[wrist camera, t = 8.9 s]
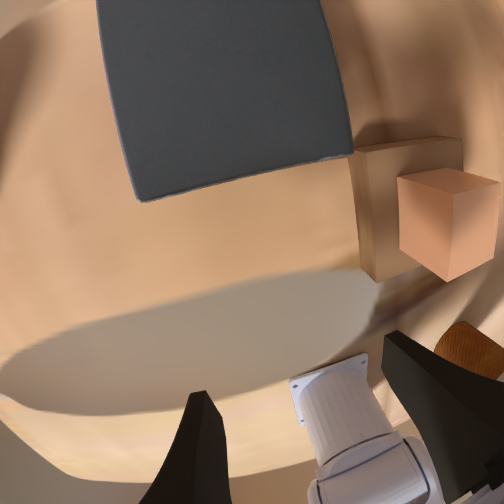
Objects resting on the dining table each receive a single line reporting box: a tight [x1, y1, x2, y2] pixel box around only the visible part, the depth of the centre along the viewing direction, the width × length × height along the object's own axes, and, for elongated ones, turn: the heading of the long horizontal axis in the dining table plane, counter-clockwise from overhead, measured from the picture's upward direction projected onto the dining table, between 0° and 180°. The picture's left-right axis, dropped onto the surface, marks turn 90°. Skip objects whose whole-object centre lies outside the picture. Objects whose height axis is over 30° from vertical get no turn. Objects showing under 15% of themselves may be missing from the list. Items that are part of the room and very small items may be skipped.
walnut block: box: [348, 136, 463, 283], centre depth 18 cm, size 9×9×3 cm
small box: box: [96, 0, 355, 203], centre depth 9 cm, size 11×6×10 cm, turn 12°
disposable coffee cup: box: [434, 321, 504, 382], centre depth 22 cm, size 10×10×12 cm
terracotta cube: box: [397, 168, 500, 282], centre depth 14 cm, size 5×5×5 cm
